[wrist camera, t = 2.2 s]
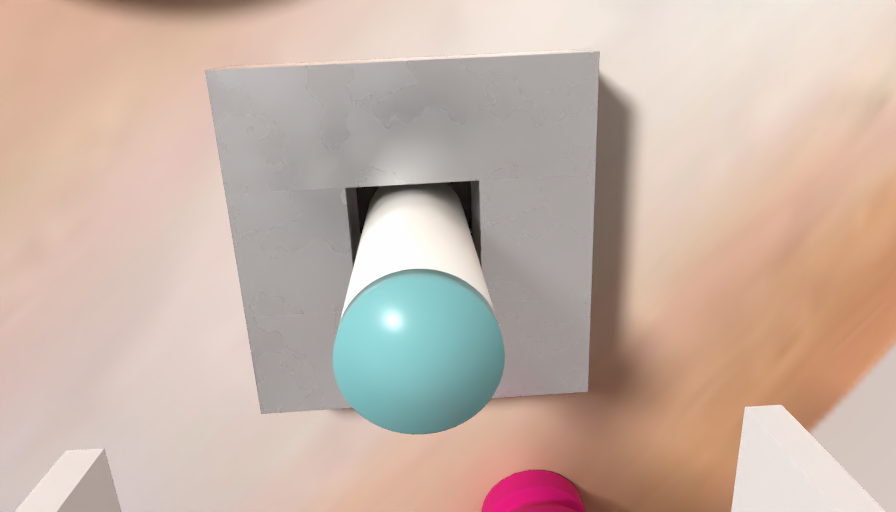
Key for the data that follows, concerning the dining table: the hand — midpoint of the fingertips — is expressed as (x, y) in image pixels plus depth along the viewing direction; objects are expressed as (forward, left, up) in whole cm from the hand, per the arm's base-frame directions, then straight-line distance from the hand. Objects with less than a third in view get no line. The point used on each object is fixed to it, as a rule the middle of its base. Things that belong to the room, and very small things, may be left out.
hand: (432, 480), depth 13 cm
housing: (0, 0, -20) cm, 20 cm away
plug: (0, 0, -21) cm, 21 cm away
